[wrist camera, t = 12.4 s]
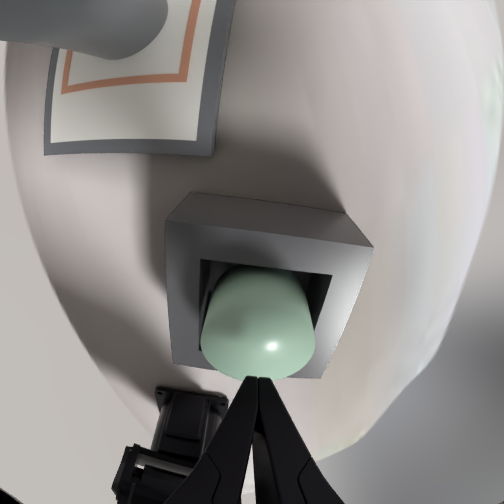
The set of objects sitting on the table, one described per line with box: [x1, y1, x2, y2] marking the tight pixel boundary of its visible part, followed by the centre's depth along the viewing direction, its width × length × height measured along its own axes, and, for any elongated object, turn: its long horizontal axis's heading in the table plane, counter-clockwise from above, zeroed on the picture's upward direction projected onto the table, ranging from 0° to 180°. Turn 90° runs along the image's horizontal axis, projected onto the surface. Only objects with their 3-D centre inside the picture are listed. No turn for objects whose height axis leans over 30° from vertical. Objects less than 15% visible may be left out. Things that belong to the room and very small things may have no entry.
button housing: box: [165, 192, 374, 379], centre depth 13 cm, size 8×8×4 cm
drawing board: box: [44, 0, 235, 157], centre depth 9 cm, size 14×10×1 cm
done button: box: [200, 264, 315, 381], centre depth 11 cm, size 4×4×3 cm
